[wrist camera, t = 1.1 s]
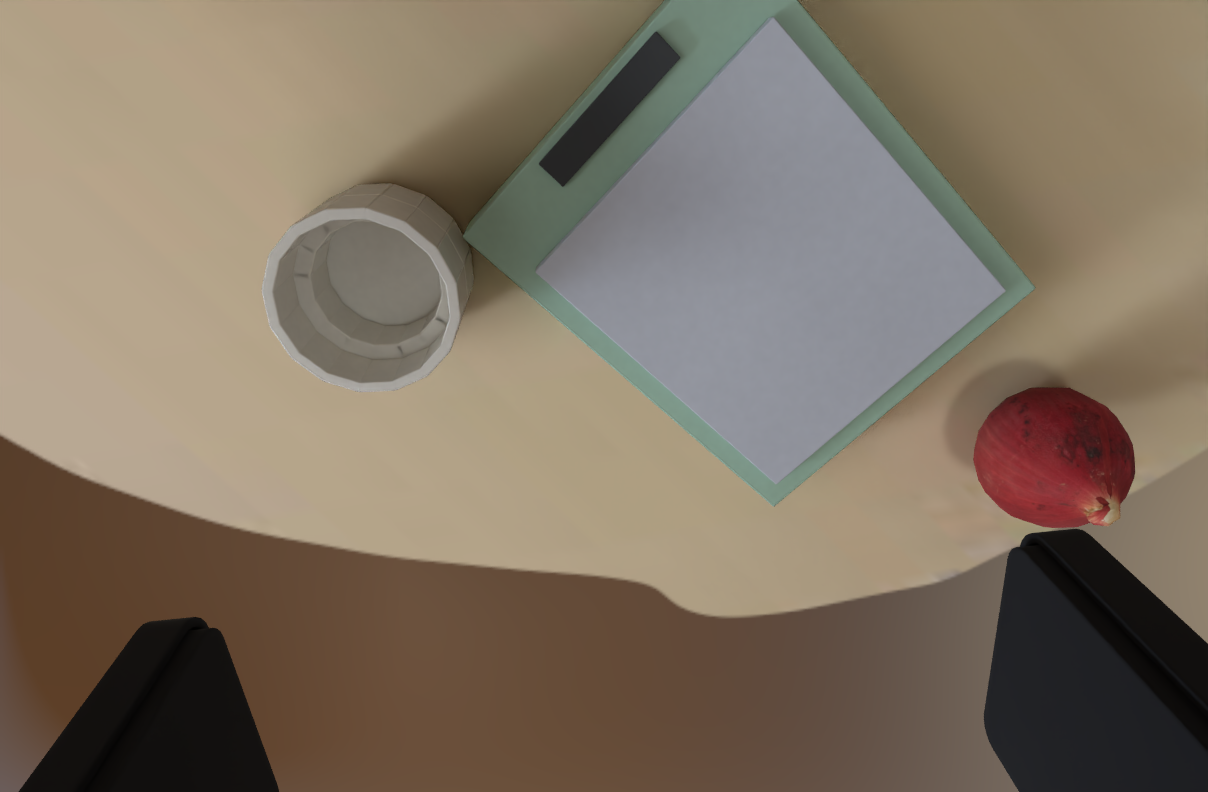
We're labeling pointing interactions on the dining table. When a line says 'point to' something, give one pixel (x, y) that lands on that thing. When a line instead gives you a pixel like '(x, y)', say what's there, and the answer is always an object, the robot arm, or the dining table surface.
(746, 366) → the scale
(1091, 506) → the onion
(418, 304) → the bowl
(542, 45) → the dining table surface
